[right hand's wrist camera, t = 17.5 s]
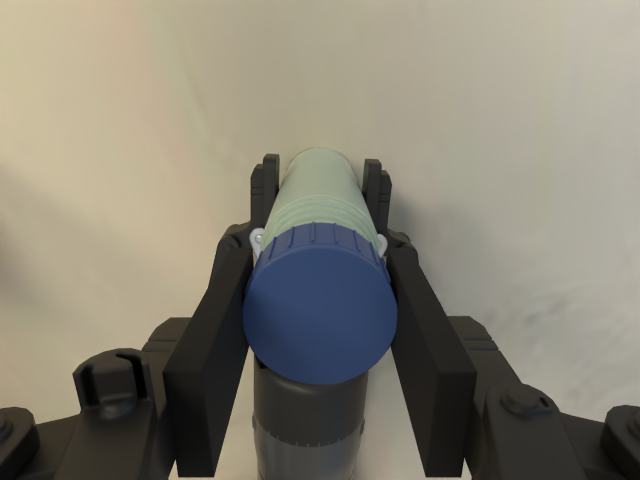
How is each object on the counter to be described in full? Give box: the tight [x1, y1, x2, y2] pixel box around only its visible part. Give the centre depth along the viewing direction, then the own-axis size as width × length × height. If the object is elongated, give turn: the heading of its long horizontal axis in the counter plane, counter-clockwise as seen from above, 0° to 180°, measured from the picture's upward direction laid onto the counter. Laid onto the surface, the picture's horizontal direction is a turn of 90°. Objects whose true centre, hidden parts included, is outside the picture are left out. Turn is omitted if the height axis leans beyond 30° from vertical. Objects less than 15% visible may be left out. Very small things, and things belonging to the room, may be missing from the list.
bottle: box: [260, 147, 380, 256], centre depth 21 cm, size 5×5×18 cm
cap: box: [242, 221, 398, 384], centre depth 13 cm, size 5×5×2 cm
